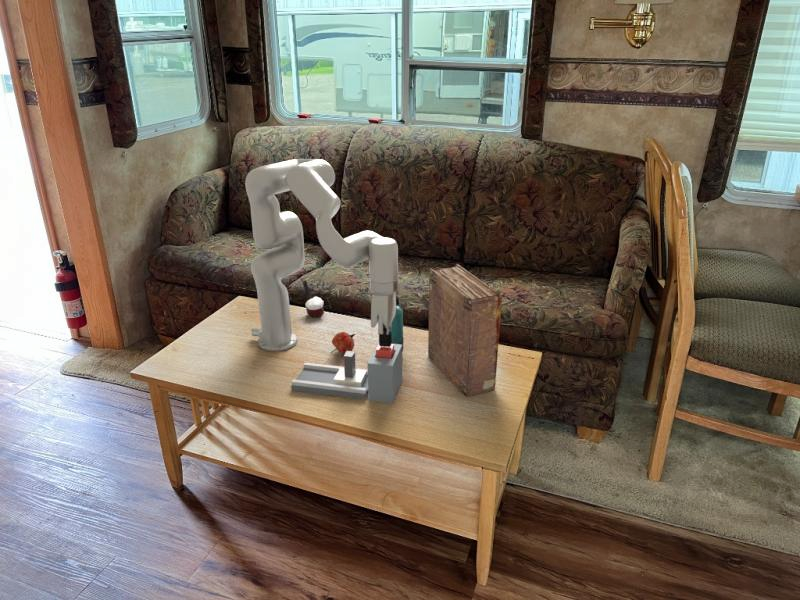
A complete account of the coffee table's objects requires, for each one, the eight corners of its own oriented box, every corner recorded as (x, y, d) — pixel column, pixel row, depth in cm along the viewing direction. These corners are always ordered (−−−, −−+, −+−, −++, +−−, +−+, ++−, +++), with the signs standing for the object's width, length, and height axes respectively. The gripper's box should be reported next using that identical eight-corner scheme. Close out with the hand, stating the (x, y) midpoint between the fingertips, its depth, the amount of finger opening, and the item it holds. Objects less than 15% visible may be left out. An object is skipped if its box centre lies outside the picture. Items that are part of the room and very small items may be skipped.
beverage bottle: (401, 361, 193) (401, 302, 184) (380, 358, 194) (379, 301, 186) (405, 350, 199) (405, 293, 190) (385, 348, 200) (384, 292, 191)
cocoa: (327, 319, 220) (327, 288, 215) (310, 322, 218) (309, 291, 212) (318, 307, 228) (317, 277, 223) (301, 310, 225) (300, 280, 220)
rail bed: (291, 390, 178) (290, 382, 177) (306, 369, 189) (305, 361, 188) (365, 399, 174) (364, 391, 173) (376, 377, 184) (375, 369, 183)
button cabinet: (368, 400, 174) (367, 363, 168) (379, 377, 184) (378, 342, 179) (393, 403, 172) (392, 365, 167) (402, 380, 183) (402, 344, 178)
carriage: (333, 385, 178) (332, 357, 174) (340, 373, 183) (339, 346, 179) (360, 388, 176) (359, 360, 172) (366, 376, 182) (365, 349, 178)
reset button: (376, 362, 172) (375, 349, 171) (379, 354, 176) (379, 342, 174) (390, 363, 172) (390, 351, 170) (394, 356, 175) (394, 343, 174)
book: (427, 356, 196) (429, 267, 183) (453, 350, 199) (456, 263, 186) (467, 397, 174) (471, 301, 162) (495, 390, 178) (502, 295, 165)
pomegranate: (335, 365, 195) (360, 348, 192) (320, 348, 193) (345, 330, 191) (339, 356, 202) (363, 339, 199) (325, 339, 200) (349, 322, 198)
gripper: (377, 272, 171) (379, 331, 179) (362, 294, 158) (365, 357, 166) (403, 274, 170) (404, 334, 178) (391, 297, 157) (392, 359, 164)
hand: (385, 344), depth 172 cm, fingers closed
